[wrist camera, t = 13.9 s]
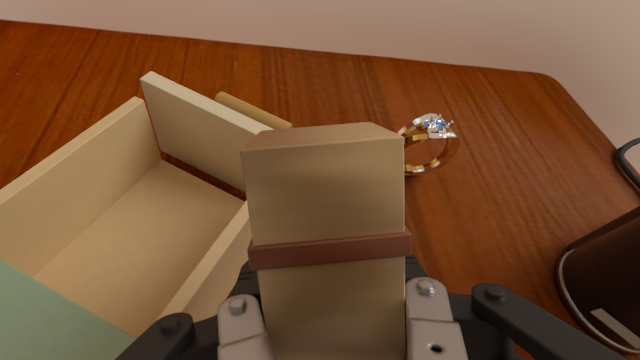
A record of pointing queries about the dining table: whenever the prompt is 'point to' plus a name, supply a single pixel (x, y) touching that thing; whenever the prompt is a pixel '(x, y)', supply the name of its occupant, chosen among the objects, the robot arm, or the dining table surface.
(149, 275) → the drawer
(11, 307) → the cabinet
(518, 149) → the dining table surface
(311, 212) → the bundle
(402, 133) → the ring
